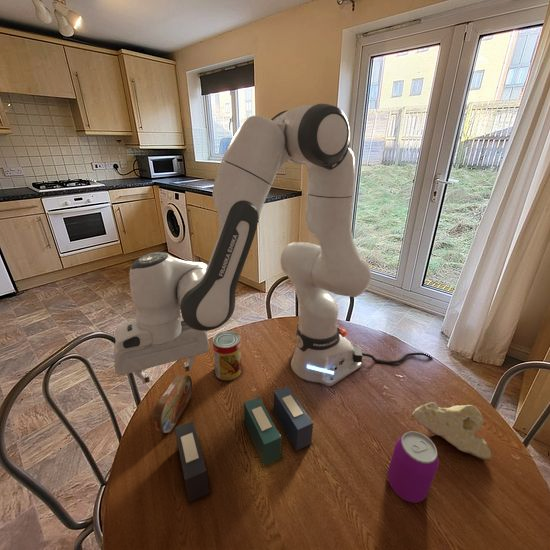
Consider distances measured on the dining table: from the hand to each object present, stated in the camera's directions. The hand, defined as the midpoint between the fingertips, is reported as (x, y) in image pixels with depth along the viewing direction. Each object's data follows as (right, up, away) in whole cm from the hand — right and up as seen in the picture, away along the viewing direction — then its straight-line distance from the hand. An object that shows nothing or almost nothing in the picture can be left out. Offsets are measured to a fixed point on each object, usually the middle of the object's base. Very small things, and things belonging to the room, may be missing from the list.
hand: (167, 375), depth 69 cm
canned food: (+11, -6, +20) cm, 24 cm away
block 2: (+22, -15, 0) cm, 27 cm away
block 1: (+8, -18, -7) cm, 21 cm away
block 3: (+29, -14, +3) cm, 33 cm away
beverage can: (+53, -20, -9) cm, 57 cm away
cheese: (+66, -16, 0) cm, 68 cm away
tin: (0, -12, +6) cm, 13 cm away
